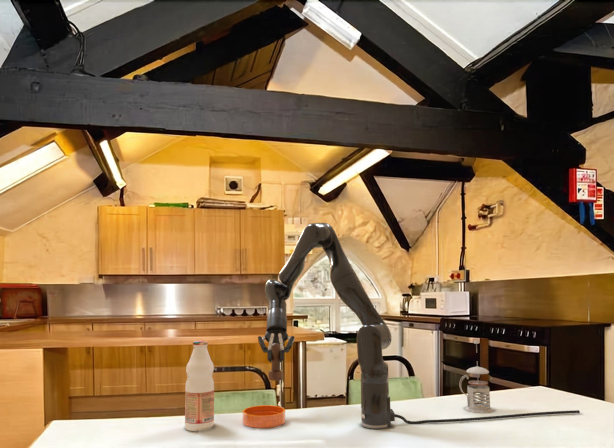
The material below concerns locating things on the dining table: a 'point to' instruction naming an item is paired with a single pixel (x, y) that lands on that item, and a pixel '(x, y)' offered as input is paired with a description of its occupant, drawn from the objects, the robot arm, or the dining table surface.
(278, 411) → the bowl
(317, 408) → the dining table surface
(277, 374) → the pestle
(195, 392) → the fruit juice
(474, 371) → the french press
